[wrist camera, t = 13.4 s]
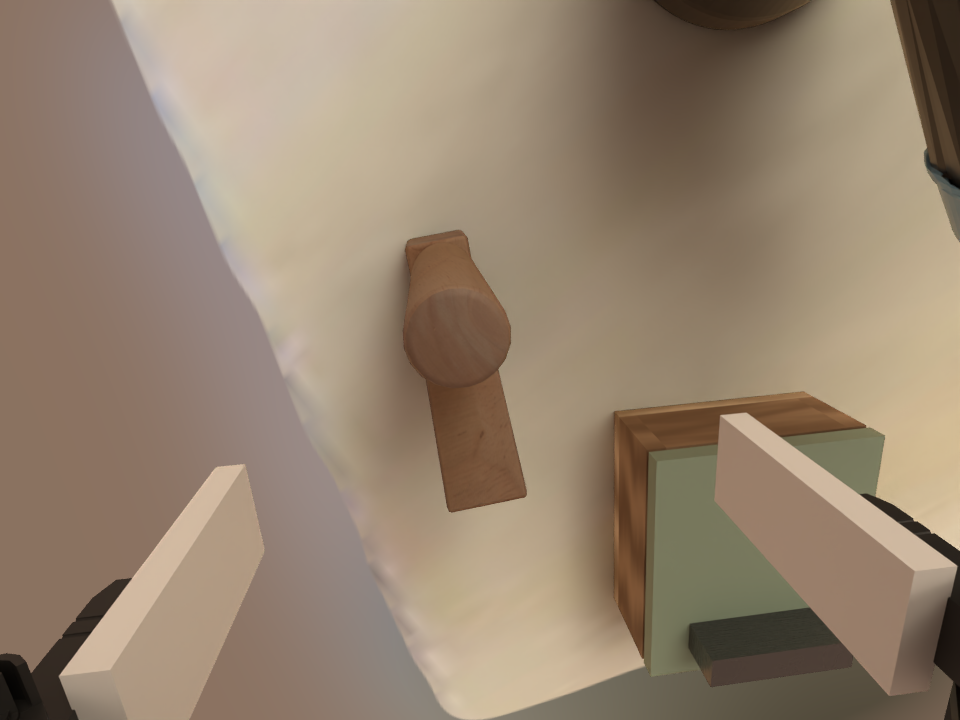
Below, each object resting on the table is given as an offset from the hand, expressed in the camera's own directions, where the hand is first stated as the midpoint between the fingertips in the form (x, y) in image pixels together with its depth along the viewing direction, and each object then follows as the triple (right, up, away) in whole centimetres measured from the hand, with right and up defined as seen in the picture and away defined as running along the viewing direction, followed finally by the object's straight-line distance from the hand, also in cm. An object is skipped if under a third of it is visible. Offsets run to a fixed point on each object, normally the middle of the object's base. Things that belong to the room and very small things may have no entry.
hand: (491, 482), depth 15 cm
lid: (+17, -9, +21) cm, 28 cm away
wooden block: (-2, +6, +21) cm, 22 cm away
